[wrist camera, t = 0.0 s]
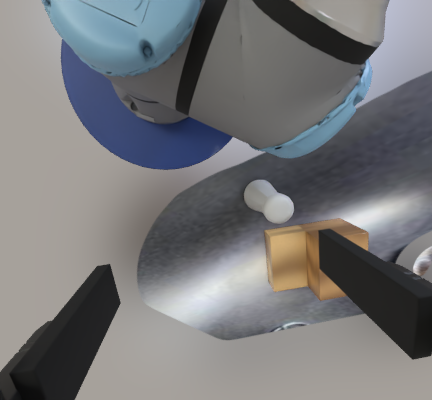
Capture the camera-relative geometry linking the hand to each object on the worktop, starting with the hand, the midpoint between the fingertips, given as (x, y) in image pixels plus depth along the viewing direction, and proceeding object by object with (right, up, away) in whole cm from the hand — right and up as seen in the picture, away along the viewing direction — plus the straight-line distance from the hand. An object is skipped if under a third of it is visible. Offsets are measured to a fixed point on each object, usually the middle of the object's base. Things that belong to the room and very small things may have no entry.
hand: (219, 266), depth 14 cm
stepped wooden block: (+18, -7, +33) cm, 39 cm away
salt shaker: (+8, +6, +30) cm, 31 cm away
